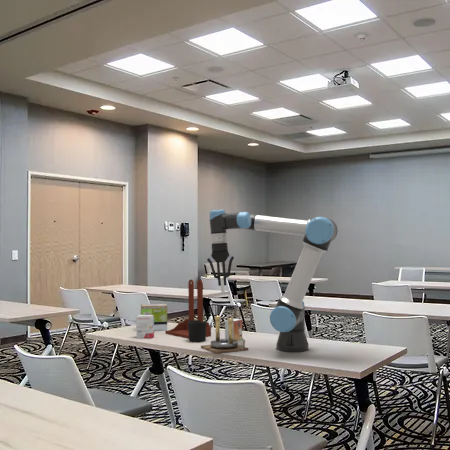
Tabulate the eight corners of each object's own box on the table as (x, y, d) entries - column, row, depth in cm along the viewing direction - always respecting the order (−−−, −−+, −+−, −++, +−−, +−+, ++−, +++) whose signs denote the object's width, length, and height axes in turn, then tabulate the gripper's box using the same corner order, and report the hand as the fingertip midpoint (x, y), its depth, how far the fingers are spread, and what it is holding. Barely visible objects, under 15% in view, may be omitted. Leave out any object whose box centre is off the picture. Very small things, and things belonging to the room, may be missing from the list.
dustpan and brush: (165, 333, 300) (165, 279, 301) (184, 331, 309) (183, 278, 310) (191, 339, 282) (191, 282, 283) (211, 336, 290) (210, 280, 291)
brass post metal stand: (244, 346, 254) (244, 316, 255) (221, 349, 246) (221, 319, 247) (227, 342, 265) (227, 313, 265) (205, 345, 257) (205, 316, 258)
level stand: (248, 350, 252) (248, 337, 252) (216, 354, 244) (216, 341, 244) (231, 344, 267) (231, 332, 267) (200, 347, 259) (200, 335, 259)
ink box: (154, 336, 290) (154, 314, 290) (151, 338, 285) (151, 316, 286) (139, 336, 292) (139, 314, 292) (135, 338, 287) (135, 315, 287)
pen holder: (204, 338, 283) (204, 319, 283) (208, 342, 274) (207, 322, 274) (186, 339, 281) (186, 320, 281) (189, 343, 272) (189, 323, 272)
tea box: (141, 331, 308) (141, 305, 308) (140, 329, 317) (140, 303, 318) (167, 330, 311) (167, 304, 311) (166, 327, 320) (165, 302, 321)
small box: (233, 342, 273) (233, 321, 274) (224, 340, 277) (224, 320, 277) (242, 339, 280) (242, 319, 280) (233, 338, 283) (233, 318, 283)
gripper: (205, 243, 251) (209, 294, 250) (233, 241, 251) (237, 292, 250) (205, 243, 258) (209, 292, 258) (232, 241, 258) (236, 290, 258)
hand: (222, 292), depth 254 cm, fingers closed
